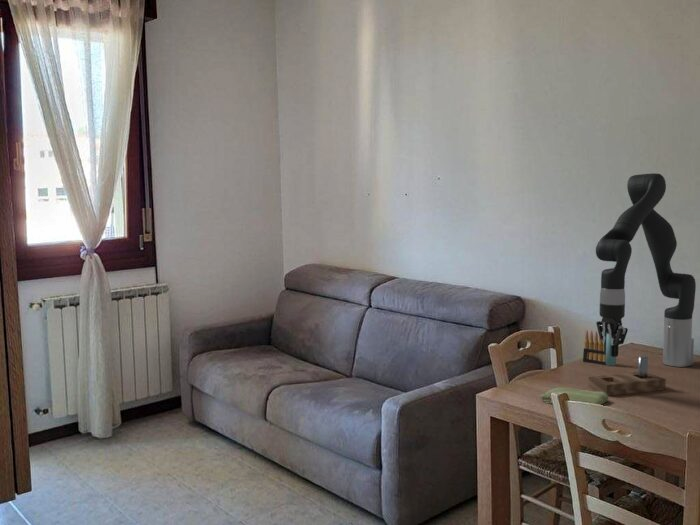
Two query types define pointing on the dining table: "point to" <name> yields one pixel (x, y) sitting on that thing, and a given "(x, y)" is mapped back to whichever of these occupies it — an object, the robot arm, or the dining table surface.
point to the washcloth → (578, 395)
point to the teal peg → (609, 352)
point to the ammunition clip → (594, 350)
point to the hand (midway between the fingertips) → (610, 355)
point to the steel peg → (642, 367)
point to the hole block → (626, 383)
